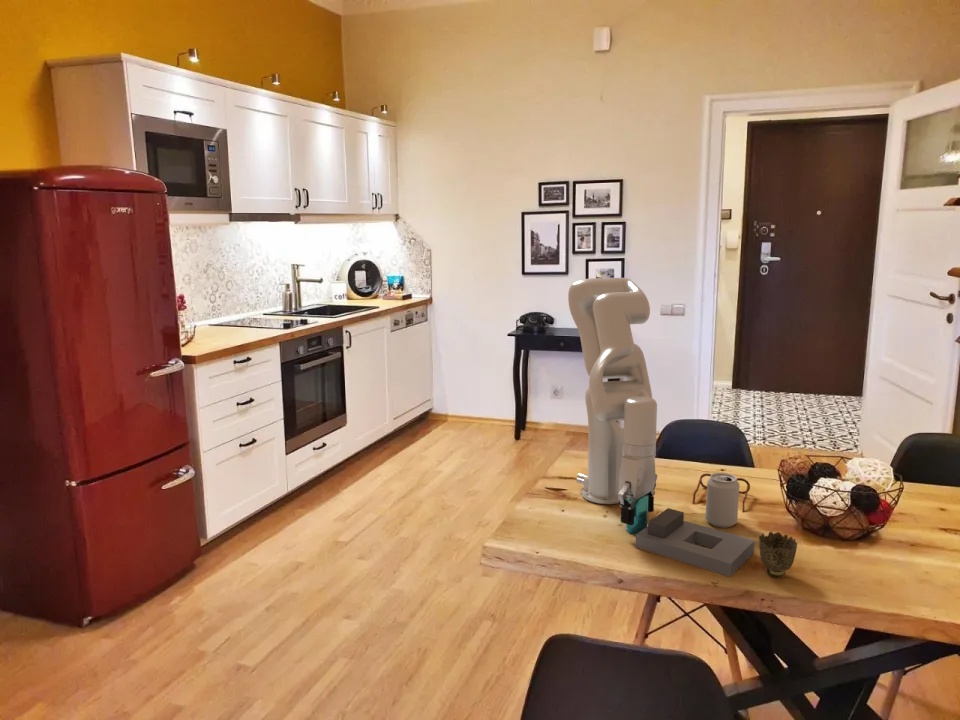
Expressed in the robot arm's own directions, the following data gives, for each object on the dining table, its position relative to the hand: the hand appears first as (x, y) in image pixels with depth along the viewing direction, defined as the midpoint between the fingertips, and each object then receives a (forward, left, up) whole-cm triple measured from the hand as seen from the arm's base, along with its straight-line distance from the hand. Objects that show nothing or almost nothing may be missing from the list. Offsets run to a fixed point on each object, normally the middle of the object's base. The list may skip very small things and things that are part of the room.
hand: (637, 517), depth 170 cm
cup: (+33, -1, -4) cm, 33 cm away
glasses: (+8, +31, -4) cm, 33 cm away
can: (+14, +17, -4) cm, 22 cm away
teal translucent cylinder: (0, 0, -4) cm, 4 cm away
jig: (+15, -1, -4) cm, 15 cm away
